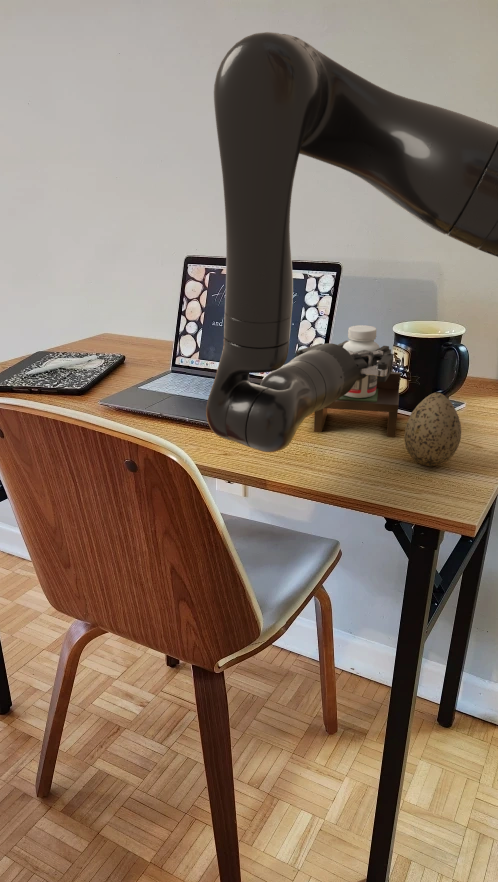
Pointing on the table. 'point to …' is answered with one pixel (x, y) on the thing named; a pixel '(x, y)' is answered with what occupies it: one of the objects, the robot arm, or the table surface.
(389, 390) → the bench
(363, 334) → the pill bottle
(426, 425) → the decorative egg
